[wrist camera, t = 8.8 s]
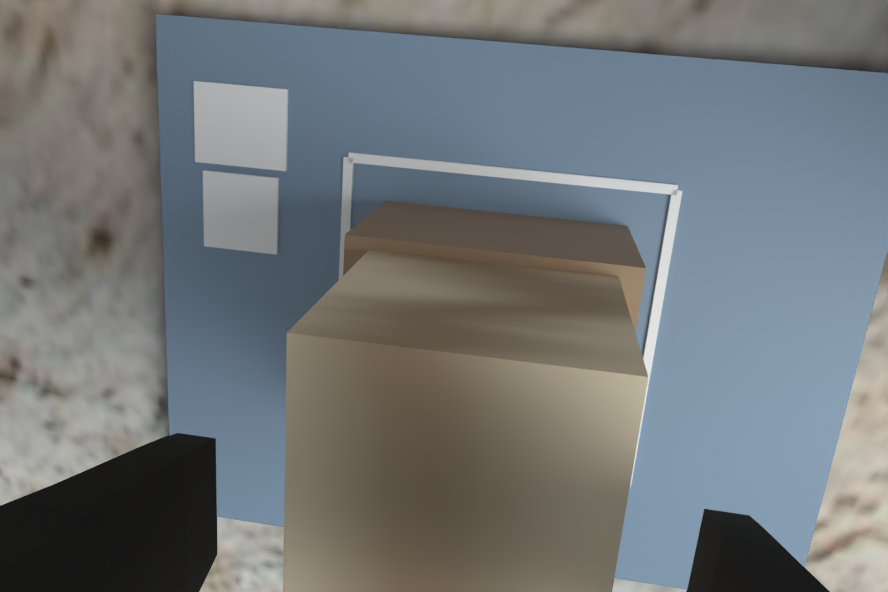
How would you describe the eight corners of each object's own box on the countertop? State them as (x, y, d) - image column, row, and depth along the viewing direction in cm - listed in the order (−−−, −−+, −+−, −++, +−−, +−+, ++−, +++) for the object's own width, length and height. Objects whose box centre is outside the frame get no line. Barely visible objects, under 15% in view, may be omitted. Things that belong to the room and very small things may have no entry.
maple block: (619, 277, 15) (648, 376, 10) (585, 499, 16) (597, 677, 12) (369, 250, 15) (286, 332, 11) (358, 467, 17) (282, 624, 12)
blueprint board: (913, 75, 18) (1043, 81, 13) (783, 582, 22) (846, 725, 17) (174, 16, 20) (52, 1, 15) (186, 491, 24) (95, 598, 19)
